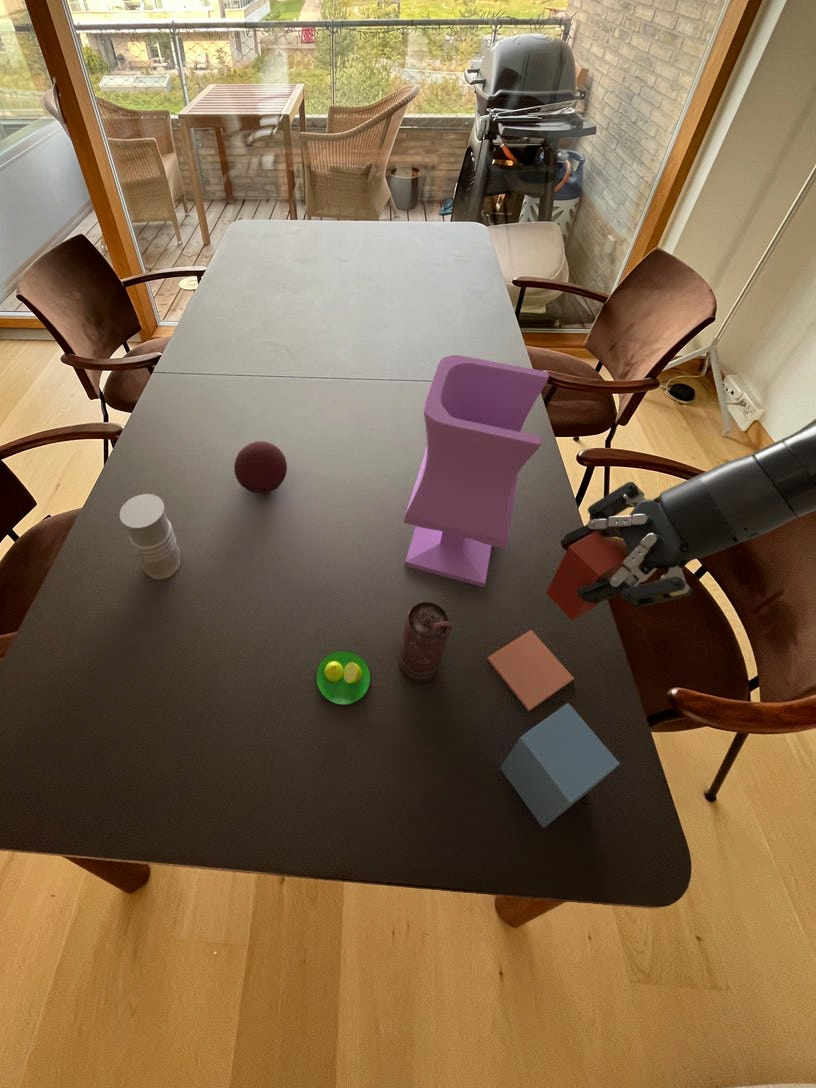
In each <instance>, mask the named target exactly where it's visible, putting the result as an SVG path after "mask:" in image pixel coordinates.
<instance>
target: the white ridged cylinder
mask: <svg viewBox="0 0 816 1088" xmlns="http://www.w3.org/2000/svg"><path fill="white" fill-rule="evenodd" d="M165 510H166V509H165V504H164V501H163V500H162V498H160V496H157V495H156V494H151V493H143V494H139V495H136V496H133V497H131V498H129V499H128V500H127V501H126V502H125V503H124V504H122V507H121V508H120V510H119V511H120V512H119V519H120V522H121V524H122V525H123V526H125V529H126V531H127V533H128V542H129V543H130V546H131V548H132V551H133V553H134V556H135V557H136V560H138V562H139V565H140V567H141V569H142V571H144V572H145V573H146V574H147V576H149V578H151V579H154V580H165V579H168V578H170V577H172V576H173V575H175V574H176V573H177V571H178V570H179V568H180V565H181V551H180V547H179V546H178V543H177V538H176V535H175V532H174V529H173V525H172V524H171V522H170V520H169V519H168V518H167V514H166V511H165Z"/></svg>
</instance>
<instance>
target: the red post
mask: <svg viewBox="0 0 816 1088" xmlns="http://www.w3.org/2000/svg"><path fill="white" fill-rule="evenodd" d="M565 551H566V550H565ZM626 558H627V556H625V555H624V554H623V553H622V552H621V551H620V550H619V549H617V548H616V547H615V546H614V545H613V544H612V543H611V542H610V541H609V540H607V538H604V537H603V536H602V535H601V534H600V533H598V532H597V531H595V532H593V533H591V534H590V535H588V536H586V537H585V538H583V539H581V540H579V541H578V542H576V543H574V544H573V545H571V546H569V547H568V549H567V551H566V552H565V553H564V555H563V558H562V559H561V562H560V563H559V566H558V568H557V569H556V572H555V574H554V576H553V578H552V580H551V582H550V584H549V586H548V589H547V590H546V592H545V594H546V595H547V596H548V597H549V598H550V599H551V600H552V601H553V602H554V603H555V604H556V606H557V607H558V608H559V609H560V610H561V611H562V613H564V614H565V615H566V616H567V617H568V618H569V619H570V620H571V621H572V622H573V621H575V620H577V619H578V618H580V617H581V616H584V615H585V614H587V613H588V612H589V611H591V610H593V609H594V608H596V607H597V606H598V605H600V603H601V602H599V603H597V604H591V603H590V602H585V601H584V600H582V599H581V598H580V597H579V596H578V593H577V590H578V589H580V588H582V587H585V586H587V585H589V584H592V583H594V582H597V581H599V580H602V579H604V578H608V579H609V580H610V579H611V578H612V577H613V576H614V574H615V573H616V572H617V571H618V570H619V569H620V568H621V567H622V563H623V561H624V560H625V559H626Z"/></svg>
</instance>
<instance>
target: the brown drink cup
mask: <svg viewBox="0 0 816 1088" xmlns="http://www.w3.org/2000/svg"><path fill="white" fill-rule="evenodd" d="M452 631H453V624H452V623H451V620H450V618H449V616H448V614H447V612H446V611H445V609H443V608H442V606H440V605H439V604H437V603H434V602H430V601H422V602H419V603H416V604H415V605H413V606H412V607H410V608H409V610H408V611H407V612H406V615H405V619H404V623H403V631H402V635H401V641H400V647H399V654H398V659H397V662H398V668H399V671H400V673H401V674H402V675H403V677H404V678H405V679H407V680H408V681H409V682H412V683H414V684H425V683H428V682H431V681H432V680H433V679H434V678H435V677H436V676H437V674H438V672H439V670H440V666H441V662H442V658H443V655H444V652H445V650H446V645H447V642H448V639H449V637H450V635H451V634H452Z"/></svg>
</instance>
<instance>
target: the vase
mask: <svg viewBox="0 0 816 1088" xmlns="http://www.w3.org/2000/svg"><path fill="white" fill-rule="evenodd" d="M549 377H550V372H549V371H546V370H539V369H534V368H529V367H523V366H519V365H513V364H508V363H502V362H497V361H492V360H487V359H481V358H476V357H472V356H471V357H470V356H464V355H455V354H454V355H448V356H445V357H443V358H441V359H440V360H439V361H438V364H437V367H436V370H435V372H434V375H433V378H432V381H431V384H430V386H429V390H428V392H427V396H426V398H425V402H424V405H423V418H424V424H425V433H426V434H425V435H426V447H425V450H424V454H423V457H422V460H421V463H420V467H419V470H418V474H417V476H416V480H415V483H414V485H413V488H412V489H413V490H412V492H411V495H410V498H409V501H408V504H407V508H406V511H405V513H404V520H403V524H405V525H406V524H407V525H410V526H414V530H413V535H412V537H411V540H410V545H409V548H408V551H407V556H406V558H405V561H404V566H405V567H409V568H412V569H416V570H419V571H423V572H427V573H430V574H434V575H437V576H441V577H445V578H449V579H452V580H455V581H460V582H463V583H467V584H470V585H474V586H477V587H481V588H485V585H486V582H487V581H486V580H487V575H488V569H489V563H490V557H491V552H492V547H496V548H500V549H504V550H506V548H507V544H508V542H509V537H510V529H511V522H512V516H513V515H512V514H513V508H514V501H515V494H516V489H517V482H518V476H519V473H520V471H521V470H522V468H523V467H524V466H525V465H526V463H527V462H528V461H529V460H530V459H531V457H532V456H533V455H534V454H535V453H536V452H537V451H538V450H539V449H540V447H541V446H542V438H543V437H542V436H541V435H536V434H532V433H527V432H521V431H522V428H523V427H524V424H525V422H526V419H527V417H528V415H529V413H530V411H531V410H532V408H533V406H534V404H535V403H536V401H537V399H538V398H539V396H540V395H541V392H542V391H543V390H544V388H545V386H546V385H547V383H548V380H549Z"/></svg>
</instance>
